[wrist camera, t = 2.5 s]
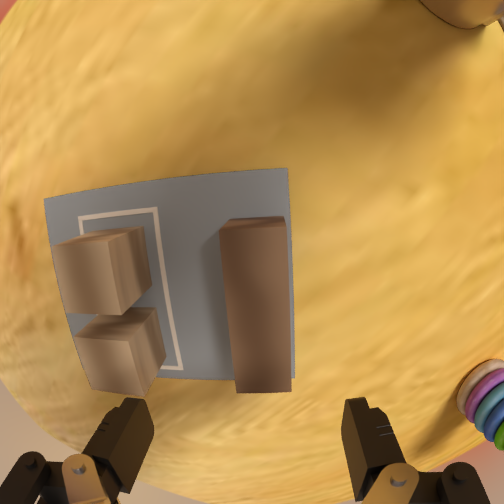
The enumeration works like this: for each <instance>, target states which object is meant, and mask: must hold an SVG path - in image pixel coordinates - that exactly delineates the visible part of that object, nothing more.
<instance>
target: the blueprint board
mask: <svg viewBox="0 0 504 504" xmlns="http://www.w3.org/2000/svg"><path fill="white" fill-rule="evenodd" d="M44 206H45V214H46V221H47V228H48V235H49V241H50V247H51V246H54V245H56V244H59V243H62V242H64V241H67V240H69V239H72V238H75V237H77V236H80V235H83V234H85V233H88V232H91V231H95V230H105V229H115V228H125V227H135V226H144V233H145V241H146V248H147V255H148V262H149V268H150V274H151V280H152V286H151V287H150V288H149V289H148V290H147V291H146V292H145V293H144V294H143V295H142V296H141V297H140V298H139V299H138V300H137V301H136V302H135V303H134V304H133V305H132V306H131V307H156V308H157V314H158V319H159V324H160V329H161V333H162V338H163V343H164V347H165V352H166V356H167V357H166V359H165V361H164V362H163V364H162V366H161V368H160V370H159V371H158V373H157V375H156V377H161V378H177V379H201V380H235V376H234V368H233V360H232V352H231V344H230V335H229V327H228V318H227V309H226V300H225V290H224V281H223V271H222V261H221V251H220V240H219V230H220V229H221V227H222V226H223V225H224V224H225V223H226V222H227V221H228V220H229V219H236V218H251V217H268V216H284V219H285V222H286V226H287V244H288V267H289V294H290V329H291V378H295V344H294V296H293V265H292V241H291V220H290V201H289V184H288V169H287V168H278V169H261V170H247V171H234V172H223V173H212V174H202V175H192V176H183V177H175V178H166V179H159V180H151V181H144V182H137V183H130V184H123V185H117V186H111V187H105V188H99V189H93V190H87V191H82V192H76V193H71V194H66V195H61V196H56V197H51V198H46V199H44ZM51 252H52V248H51ZM52 258H53V253H52ZM53 263H54V259H53ZM54 268H55V264H54ZM55 272H56V269H55ZM56 277H57V273H56ZM57 281H58V278H57ZM58 286H59V282H58ZM59 290H60V287H59ZM60 294H61V291H60ZM61 298H62V295H61ZM62 302H63V299H62ZM63 306H64V303H63ZM64 310H65V307H64ZM65 313H66V310H65ZM97 315H98V314H78V313H66V317H67V320H68V324H69V327H70V330H71V334H72V337H74V336H75V335H76V334H77V333H78V332H79V331H80V330H81V329H83V328H84V327H85V326H86V325H87V324H88V323H89V322H91V321H92V320H93V319H94V318H95V317H96V316H97ZM73 340H74V338H73ZM74 343H75V341H74ZM75 346H76V344H75ZM76 349H77V347H76ZM77 352H78V350H77ZM78 355H79V353H78ZM79 358H80V356H79ZM80 361H81V359H80ZM81 364H82V362H81ZM82 367H83V364H82ZM83 369H84V367H83Z"/></svg>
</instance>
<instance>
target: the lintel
mask: <svg viewBox="0 0 504 504" xmlns="http://www.w3.org/2000/svg"><path fill="white" fill-rule="evenodd" d="M219 240H220V251H221V261H222V271H223V281H224V290H225V300H226V309H227V318H228V327H229V335H230V344H231V352H232V360H233V368H234V376H235V384H236V392H237V393H278V392H291V329H290V294H289V267H288V244H287V226H286V222H285V219H284V216H268V217H251V218H236V219H229V220H228V221H227V222H226V223H225V224H224V225H223V226H222V227H221V229H220V230H219Z"/></svg>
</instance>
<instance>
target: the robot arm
mask: <svg viewBox="0 0 504 504" xmlns="http://www.w3.org/2000/svg"><path fill="white" fill-rule="evenodd" d="M420 1H421V2H422V3H423V4H424V5H425V6H426V7H427V8H428V9H429V10H430V11H432V12H433V13H434V14H435V15H437V16H438V17H439V18H441V19H443V20H444V21H446V22H448V23H450V24H452V25H454V26H457V27H460V28H464V29H472V28H475V27H477V26H479V25H480V24H482V25H485V26H488V25H490V24H491V23H493V22H495V21H496V20H498V19H500V18H502V17H503V16H504V0H420ZM341 435H342V441H343V446H344V450H345V455H346V459H347V464H348V468H349V473H350V478H351V482H352V487H353V492H354V497H355V501H356V502H357V501H363V502H362V503H361V504H490V501H489V499H488V496H487V494H486V492H485V489H484V487H483V485H482V483H481V480H480V478H479V476H478V474H477V472H476V470H475V468H474V467H473V466H471V465H470V464H468V463H465V462H456V463H452V464H450V465H449V466H447V467H446V468H445V469H444V471H443V472H419V471H417V470H416V469H415V468H414V467H413V466H411V465H409V464H407V463H406V461H405V459H404V456H403V454H402V451H401V449H400V446H399V444H398V441H397V439H396V436H395V434H394V432H393V429H392V427H391V426H390V422H389V420H388V417H387V415H386V414H385V413H384V412H383V411H382V410H380V409H379V408H378V407H377V408H371V409H370V408H369V406H368V403H367V400H366V398H365V397H360V398H352V399H346V400H345V405H344V412H343V419H342V425H341ZM153 436H154V425H153V422H152V419H151V416H150V413H149V410H148V407H147V404H146V402H145V400H144V399H137V398H129V397H127V398H125V399H124V401H123V402H122V404H121V406H120V407H119V408H118V407H115V408H113V409H112V410H111V411H109V412H108V413H107V414H106V415H105V417H104V419H103V420H102V422H101V424H100V425H99V426H98V428H97V430H96V431H95V433H94V434H93V436H92V438H91V439H90V441H89V442H88V444H87V446H86V447H85V449H84V451H83V452H82V454H75V455H72V456H69V457H68V458H67V459H66V460H65V461H64V462H50V461H49V462H48V461H46V460H45V458H44V457H43V455H41V454H40V453H38V452H33V451H32V452H27V453H25V454H23V455H22V456H20V458H19V459H18V461H17V462H16V463H15V465H14V466H13V468H12V470H11V471H10V472H9V474H8V476H7V477H6V479H5V480H4V482H3V483H2V485H1V487H0V504H34V503H35V501H36V499H37V497H38V495H40V496H41V497H40V499H39V501H38V503H37V504H121V503H120V501H119V499H118V494H119V492H124V493H128V494H130V492H131V489H132V487H133V484H134V482H135V480H136V477H137V475H138V472H139V470H140V468H141V465H142V463H143V460H144V458H145V456H146V453H147V451H148V449H149V446H150V444H151V441H152V439H153Z"/></svg>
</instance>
